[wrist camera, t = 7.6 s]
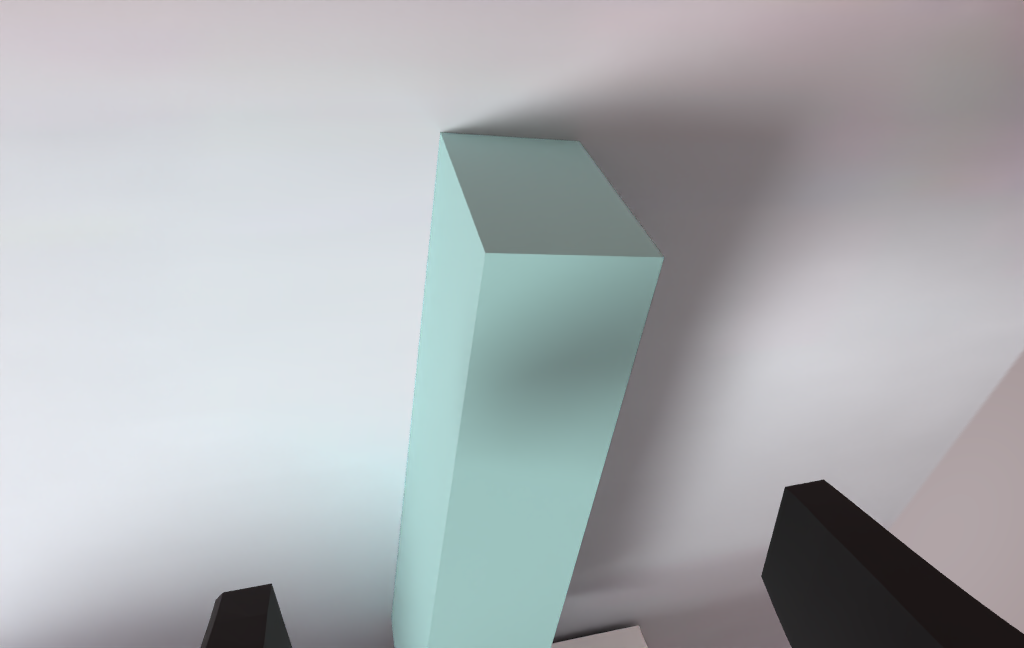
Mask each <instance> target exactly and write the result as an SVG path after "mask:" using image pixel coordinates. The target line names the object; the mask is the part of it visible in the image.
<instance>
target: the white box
mask: <svg viewBox="0 0 1024 648" xmlns="http://www.w3.org/2000/svg"><path fill="white" fill-rule="evenodd" d="M551 648H648V647H647V645H646V642H645V640H644V637H643V635H642V632H641V629H640V627H639V625H637V626H633V627H628V628H623V629H618V630H614V631H609V632H604V633H599V634H595V635H590V636H585V637H581V638H576V639H571V640H566V641H562V642H557V643H552V646H551Z"/></svg>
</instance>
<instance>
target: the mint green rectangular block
mask: <svg viewBox="0 0 1024 648" xmlns="http://www.w3.org/2000/svg"><path fill="white" fill-rule="evenodd" d="M663 260H664V256H663V255H662V254H661V252H660V251H659V250H658V248H657V247H656V246H655V244H654V243H653V241H652V240H651V239H650V237H649V236H648V235H647V233H646V232H645V230H644V229H643V228H642V226H641V225H640V224H639V222H638V221H637V220H636V218H635V217H634V215H633V214H632V213H631V211H630V210H629V209H628V207H627V206H626V205H625V203H624V202H623V200H622V199H621V198H620V196H619V195H618V194H617V192H616V191H615V189H614V188H613V187H612V185H611V184H610V183H609V181H608V180H607V179H606V177H605V176H604V174H603V173H602V172H601V170H600V169H599V168H598V166H597V165H596V163H595V162H594V161H593V159H592V158H591V157H590V155H589V154H588V153H587V151H586V150H585V148H584V147H583V146H582V144H581V143H580V142H579V141H568V140H552V139H536V138H521V137H505V136H489V135H473V134H458V133H442V132H440V141H439V151H438V161H437V171H436V181H435V191H434V201H433V211H432V221H431V230H430V240H429V250H428V260H427V270H426V280H425V290H424V300H423V309H422V319H421V329H420V339H419V349H418V359H417V369H416V379H415V388H414V398H413V408H412V418H411V428H410V438H409V448H408V458H407V467H406V477H405V487H404V497H403V507H402V517H401V527H400V537H399V546H398V556H397V566H396V576H395V586H394V596H393V606H392V616H391V620H392V629H393V639H394V648H551V646H552V643H553V639H554V636H555V632H556V629H557V625H558V622H559V618H560V615H561V612H562V608H563V605H564V601H565V598H566V594H567V591H568V587H569V584H570V581H571V577H572V574H573V570H574V567H575V563H576V560H577V556H578V553H579V549H580V546H581V543H582V539H583V536H584V532H585V529H586V525H587V522H588V518H589V515H590V512H591V508H592V505H593V501H594V498H595V494H596V491H597V487H598V484H599V481H600V477H601V474H602V470H603V467H604V463H605V460H606V456H607V453H608V449H609V446H610V443H611V439H612V436H613V432H614V429H615V425H616V422H617V418H618V415H619V412H620V408H621V405H622V401H623V398H624V394H625V391H626V387H627V384H628V380H629V377H630V374H631V370H632V367H633V363H634V360H635V356H636V353H637V349H638V346H639V343H640V339H641V336H642V332H643V329H644V325H645V322H646V318H647V315H648V311H649V308H650V305H651V301H652V298H653V294H654V291H655V287H656V284H657V280H658V277H659V274H660V270H661V267H662V263H663Z"/></svg>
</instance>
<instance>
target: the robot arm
mask: <svg viewBox="0 0 1024 648" xmlns="http://www.w3.org/2000/svg"><path fill="white" fill-rule="evenodd" d="M761 577H762V579H763V582H764V584H765V586H766V589H767V591H768V594H769V596H770V599H771V601H772V604H773V606H774V608H775V611H776V613H777V616H778V618H779V620H780V622H781V625H782V627H783V629H784V631H785V634H786V636H787V638H788V640H789V643H790V645H791V647H792V648H1024V634H1023V633H1021V632H1020V631H1019V630H1017V629H1016V628H1014V627H1013V626H1011V625H1010V624H1009V623H1007V622H1006V621H1005V620H1003V619H1002V618H1000V617H999V616H997V615H996V614H995V613H994V612H992V611H991V610H990V609H988V608H987V607H985V606H984V605H982V604H981V603H980V602H979V601H977V600H976V599H974V598H973V597H972V596H971V595H969V594H968V593H967V592H965V591H964V590H963V589H961V588H960V587H959V586H957V585H956V584H955V583H954V582H952V581H951V580H950V579H948V578H947V577H946V576H944V575H943V574H942V573H940V572H939V571H938V570H937V569H935V568H934V567H933V566H932V565H930V564H929V563H928V562H926V561H925V560H924V559H922V558H921V557H920V556H919V555H917V554H916V553H915V552H914V551H912V550H911V549H910V548H908V547H907V546H906V545H905V544H904V543H902V542H901V541H900V540H899V539H897V538H896V537H895V536H894V535H892V534H891V533H890V532H889V531H887V530H886V529H885V528H884V527H882V526H881V525H880V524H879V523H877V522H876V521H875V520H874V519H872V518H871V517H870V516H869V515H868V514H866V513H865V512H864V511H863V510H861V509H860V508H859V507H858V506H856V505H855V504H854V503H853V502H851V501H850V500H849V499H848V498H846V497H845V496H844V495H843V494H841V493H840V492H839V491H838V490H836V489H835V488H834V487H833V486H831V485H830V484H829V483H827V482H826V481H825V480H819V481H814V482H809V483H804V484H798V485H793V486H788V487H785V489H784V493H783V497H782V500H781V504H780V508H779V512H778V516H777V519H776V523H775V527H774V531H773V534H772V538H771V542H770V546H769V549H768V553H767V557H766V561H765V564H764V568H763V572H762V576H761ZM201 648H292V646H291V643H290V640H289V637H288V633H287V630H286V627H285V624H284V621H283V618H282V615H281V611H280V608H279V605H278V602H277V599H276V596H275V593H274V589H273V586H272V584H267V585H261V586H256V587H251V588H245V589H240V590H235V591H229V592H224V593H222V594H221V595H220V596H219V597H218V598H217V599H216V601H215V605H214V608H213V611H212V614H211V618H210V621H209V624H208V627H207V630H206V633H205V636H204V639H203V642H202V645H201Z"/></svg>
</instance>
